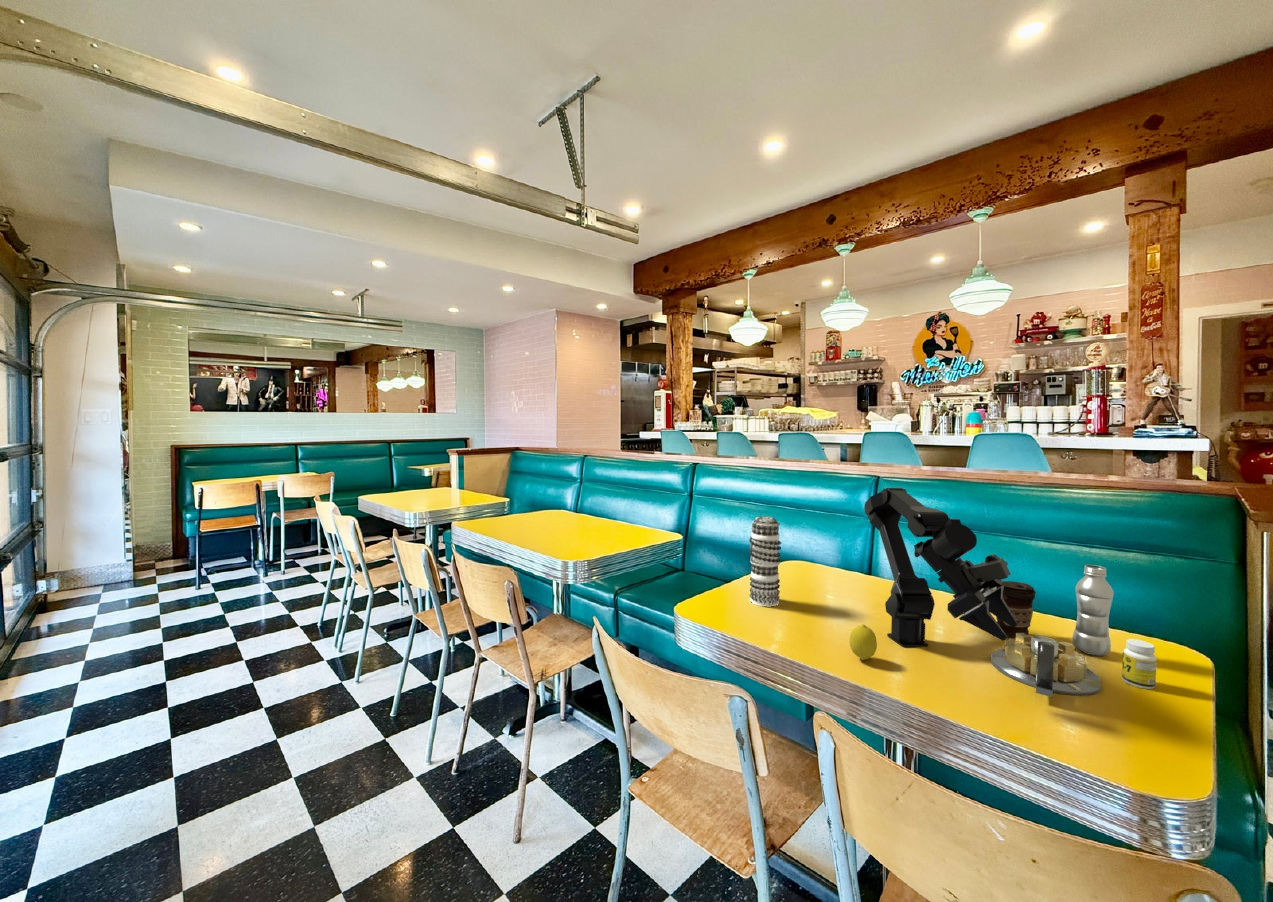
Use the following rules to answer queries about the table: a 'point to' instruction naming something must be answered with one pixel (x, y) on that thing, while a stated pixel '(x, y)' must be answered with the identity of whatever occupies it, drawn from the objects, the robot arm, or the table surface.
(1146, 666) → the supplement bottle
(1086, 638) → the plastic bottle
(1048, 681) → the tan toy bricks
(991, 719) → the table surface
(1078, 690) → the cap flange
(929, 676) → the table surface
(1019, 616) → the coffee cup
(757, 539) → the decorative candle
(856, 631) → the lemon
